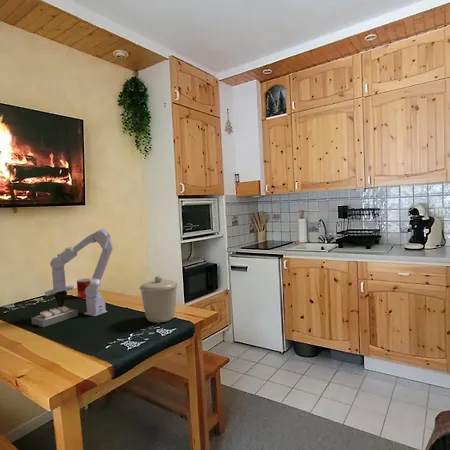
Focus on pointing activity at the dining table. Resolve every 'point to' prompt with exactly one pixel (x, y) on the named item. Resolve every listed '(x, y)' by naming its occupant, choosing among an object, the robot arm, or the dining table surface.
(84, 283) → the canned food
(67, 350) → the dining table surface
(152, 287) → the canister
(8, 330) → the dining table surface
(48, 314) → the switch
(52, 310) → the switch
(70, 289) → the robot arm
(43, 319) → the switch unit
